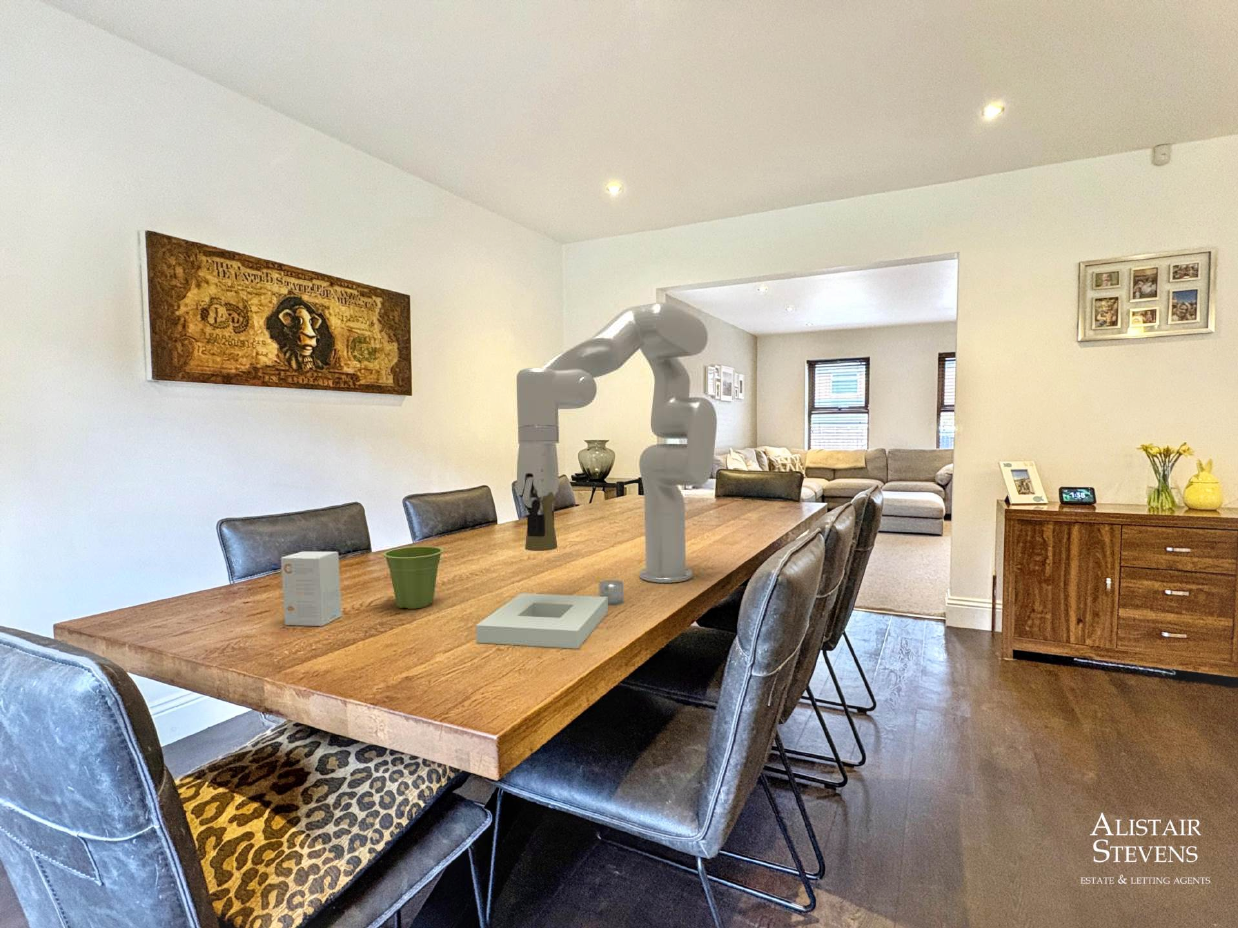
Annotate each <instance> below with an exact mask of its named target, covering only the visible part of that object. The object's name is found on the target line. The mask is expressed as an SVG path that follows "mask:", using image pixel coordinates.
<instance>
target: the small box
mask: <svg viewBox="0 0 1238 928" xmlns="http://www.w3.org/2000/svg"><path fill="white" fill-rule="evenodd" d="M339 560H340V559H339V552H338V551H299V552H297V553H293V554H288V555H285V556H282V557H281V558H280V566H281V567H280V568H281V585H282V586H281V587H282V601H283V602H282V603H283V604H282V605H283V617H284V618H283V619H284V625H285V626H305V627H306V626H309V627H310V626H311V627H313V626H315V627H323V626H326V625H327V624H330V623H331V622H333V621H335V620H337V619H339V618H341V617H343V610H342V609H343V608H342V592H341V591H342V589H341V576H340V561H339Z"/></svg>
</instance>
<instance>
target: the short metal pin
mask: <svg viewBox="0 0 1238 928" xmlns="http://www.w3.org/2000/svg"><path fill="white" fill-rule="evenodd" d="M598 597H608V606H619V605H622V604H624V602H625V601H624V600H625V598H624V582H623V581H622V580H619V579H606V580H601V581H599V583H598ZM621 603H622V604H621Z"/></svg>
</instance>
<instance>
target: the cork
mask: <svg viewBox="0 0 1238 928" xmlns="http://www.w3.org/2000/svg"><path fill="white" fill-rule="evenodd" d="M532 497H538V495H537V494H533V495H532ZM554 499H555V497H554V495H553V493H552V492H550V493H549V494H548V495H547V496H546V497H544V498H543V512H542V514H545V535H544V536H543V537H537V536H528V528H527V527H526V533H525V534H526V538H525V546H524V549H525V550H527V551H530V552H545V551H546V552H547V551H552V550H553V551H554V550H556V549H557V548H558V542H557V541H558V540H557V535H556V529H555V520H554V521H553V515H552V509H551V506H552V504H553V502H554V503H555V500H554ZM536 503H537V505H538V501H536Z"/></svg>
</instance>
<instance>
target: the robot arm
mask: <svg viewBox="0 0 1238 928" xmlns="http://www.w3.org/2000/svg"><path fill="white" fill-rule="evenodd" d="M708 337H709V335H708V331H707V327H706V326H705V324H704V322H703V321H702V320H701V319H700V318H699V317H697V316H695V315H694V314H691V313H689V312H687V311H685V310H683V309H681V308H679V307H676V306H674V305H672V304H669V303H667V302H654V303H648V304H642V305H637V306H631V307H628V308H625V309H623V310H622V311H621V312H619V313H618V314H617V315H616V316H615V317H614V318H613V319H611V320H610V321H609V322H608V323H607V324H605V326H603V327H602V328H601V329H600V330H599V331H597V332H596V333H595V334H594V335H592V337H590V338H588V339H585V340H584V341H582V342H579V343H578V344H576V345H575V346H573V347H572V348H571V347H570V348H569V349H567V350H566V351H563V352H562V353H559V355H557V356H555V357H554V358H552V359H551V360H550V361H548V362H547V363H546V364H544V365H543V366H542V367H529V368H523V369H520V370H519V371H518V372H517V375H516V408H517V409H516V411H517V440H518V443H517V444H518V450H517V464H516V495H517V497H518V498H520V499H522V503H523V504H524V506H525V514H526V519H527V523H526V524H527V526H526V529H527V528H528V536H537V537H543V536H544V535H545V514H542V512H543V498H544V497H546V496H547V495H548V494H549V493H550V492H552V493H553V495H554V502H553V504H552V506H551V509H552V515H553V521H554V522H555V499H556V498H555V497H556V494H557V492H558V491H559V485H560V483H559V462H558V450H557V444H560V429H559V427H560V424H559V423H560V422H559V410H574V409H582V408H584V407H587V406H589V405H591V403H593V401H594V399H595V398H596V396H597V390H598V387H597V383H596V380H595V379H597V378H599V377H602V376H606V375H609V374H610V373H613V372H615V371H617V370H619V369H620V368H621V367H622V366H623V365H624V364H625V363H627V362H628V361H629V359H630V358H631V357H633V356H634V354H635V353H637V352H638V351H639V350H640V352H641V353H642V354H643V357H645V359H646V361H647V363H648V364H649V366H650V370H652V374H653V379H654V381H653V382H654V384H653V385H654V387H653V396H652V403H651V404H652V405H651V412H650V413H651V414H650V415H651V416H650V428H651V429H650V430H651V431H652V434H653V435H654V436H656V437H658V438H661V439H666V440H667V439H669V440H670V439H671V440H672V439H673V440H678V439H679V440H681V439H682V440H683V439H684V440H686V443H657V444H652V445H650V446H647V447H646V448H645V449H644V450H643V451H642V452H641V454H640V456H639V464H638V465H639V473H640V477H641V481H642V487H643V488H642V489H643V498H644V536H645V539H644V541H645V542H644V543H645V545H644V547H645V568H643V569H641V570H640V571H639V578H640V579H642V580H643V581H646V582H652V583H664V584H666V583H667V584H668V583H670V584H671V583H680V582H685V581H688V580H691V579H692V578H693V571H692V569H690V568H687V567H686V565H687V563H686V562H687V560H686V557H687V556H686V555H687V554H686V552H687V551H686V505H685V504H686V503H685V499H684V495H683V494H682V492H681V489H680V488H679V486H684V487H685V486H688V487H689V486H691V487H692V486H693V487H697V486H699V487H700V486H703V485H704V484H706V483H707V482H708V481H709V479H710V477H711V475H712V471H713V465H714V459H715V449H716V448H715V446H716V437H717V429H718V420H717V413H716V408H715V407H714V405H713V403H712V402H711V401H710V400H709V399H707V398H705V397H700V396H699V397H697V396H695V397H690V392H691V391H690V388H691V387H690V386H691V378H690V375H689V373H688V370H687V369H686V367H685V365H684V364H683V363H682V361H680V359H679V358H684V357H685V358H686V357H692V356H697V355H699V354H701V353H702V352H703V351H704V350H705V349H706V347H707V344H708V340H709V338H708ZM533 494H537V495H538V497H532V495H533ZM536 501H538V505H537V503H536Z"/></svg>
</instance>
